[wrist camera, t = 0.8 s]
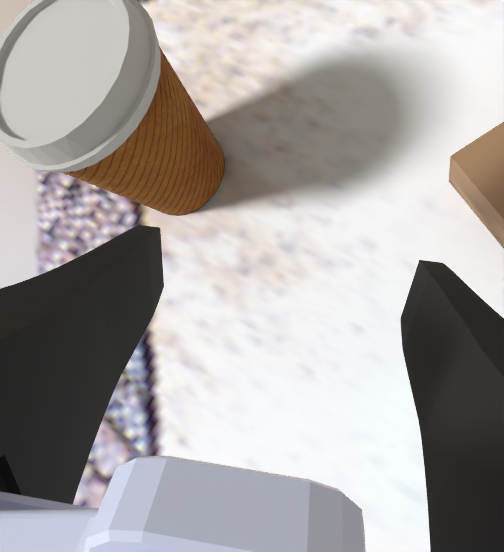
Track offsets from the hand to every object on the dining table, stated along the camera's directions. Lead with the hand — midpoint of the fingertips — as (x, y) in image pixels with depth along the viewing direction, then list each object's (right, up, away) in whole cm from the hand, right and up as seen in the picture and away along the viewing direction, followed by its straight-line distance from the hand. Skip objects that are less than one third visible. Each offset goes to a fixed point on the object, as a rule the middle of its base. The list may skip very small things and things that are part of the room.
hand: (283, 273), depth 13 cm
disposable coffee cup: (-6, +7, +19) cm, 21 cm away
